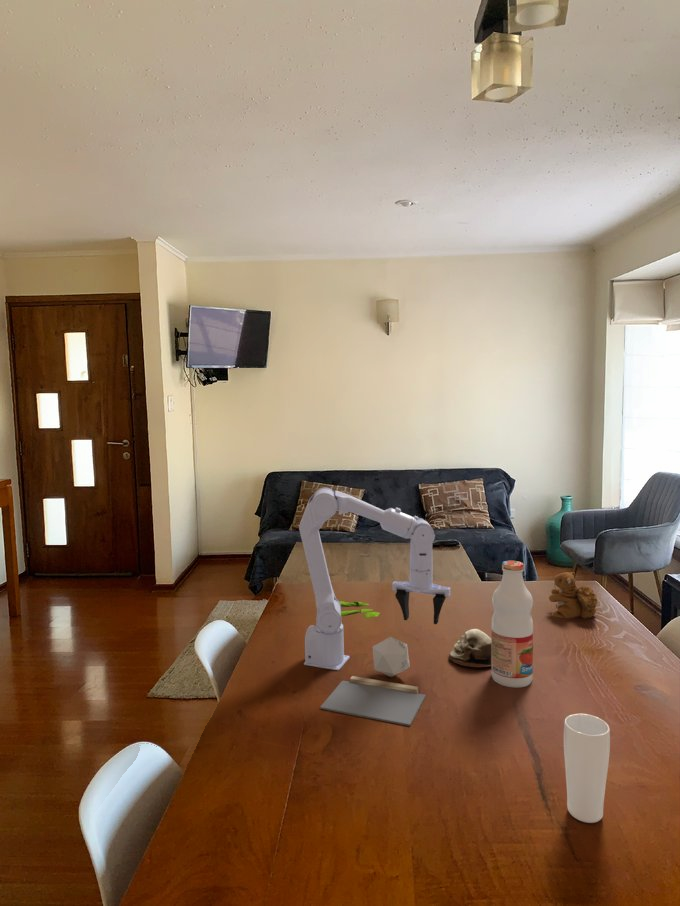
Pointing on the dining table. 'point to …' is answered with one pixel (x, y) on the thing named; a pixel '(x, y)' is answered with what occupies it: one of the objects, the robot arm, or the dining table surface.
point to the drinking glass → (586, 765)
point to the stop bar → (384, 684)
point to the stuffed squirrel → (572, 598)
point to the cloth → (367, 615)
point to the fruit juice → (512, 629)
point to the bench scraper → (374, 702)
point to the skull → (472, 649)
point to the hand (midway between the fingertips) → (421, 620)
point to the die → (390, 656)
